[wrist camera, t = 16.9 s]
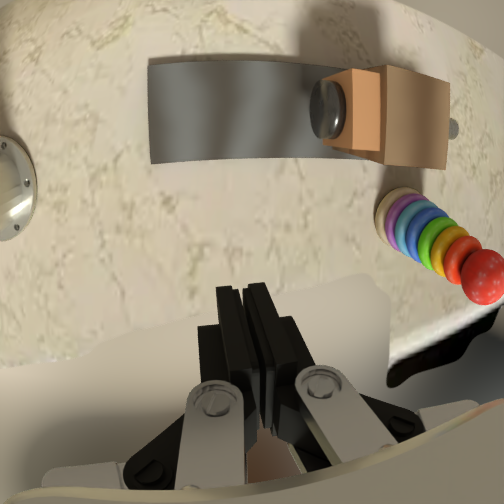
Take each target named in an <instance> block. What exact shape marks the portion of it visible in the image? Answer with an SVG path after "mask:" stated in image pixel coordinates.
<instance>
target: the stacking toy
mask: <svg viewBox="0 0 504 504" xmlns="http://www.w3.org/2000/svg"><path fill="white" fill-rule="evenodd" d="M375 226H376V231H377V233H378V235H379V237H380V239H381V240H382V241H383V242H384V243H385V244H387V245H389V246H391V247H393V248H394V249H396V250H397V251H400V252H402V253H403V254H404V255H406V256H408V257H411V258H413V259H414V260H415V261H417V262H419V263H422V264H423V265H424V266H425V267H426V268H427V269H429V270H434V271H435V272H436V273H437V274H438V275H440V276H443V277H446V278H447V280H448V281H450V282H451V283H453V284H457V285H459V284H461V285H462V288H463V291H464V293H465V294H466V296H467V297H468V298H469V299H470V300H471V301H472V302H474V303H476V304H479V305H489V304H492V303H494V302H496V301H497V300H499V299H500V298H501V297H502V295H503V294H504V259H503V257H502V256H501V255H500V254H498V253H497V252H495V251H493V250H489V249H482V246H481V244H480V242H479V241H478V240H477V239H476V238H475V237H472V236H470V235H469V233H468V232H467V231H466V230H465V229H464V228H462V227H460V226H458V225H457V223H456V222H455V221H454V220H452V219H451V218H449V216H448V215H447V214H446V213H445V212H444V211H443V210H441V209H439V208H438V207H437V206H436V205H435V204H434V203H432V202H430V201H429V200H428V199H427V198H426V197H425V196H423V195H421V194H420V193H419V192H418V191H416V190H414V189H412V188H408V187H401V188H397V189H395V190H393V191H391V192H390V193H388V194H387V195H386V196H385V197H384V198H383V200H382V201H381V203H380V205H379V207H378V209H377V212H376V217H375Z"/></svg>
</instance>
